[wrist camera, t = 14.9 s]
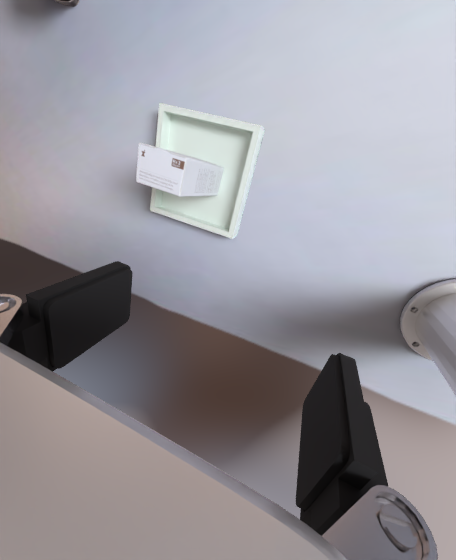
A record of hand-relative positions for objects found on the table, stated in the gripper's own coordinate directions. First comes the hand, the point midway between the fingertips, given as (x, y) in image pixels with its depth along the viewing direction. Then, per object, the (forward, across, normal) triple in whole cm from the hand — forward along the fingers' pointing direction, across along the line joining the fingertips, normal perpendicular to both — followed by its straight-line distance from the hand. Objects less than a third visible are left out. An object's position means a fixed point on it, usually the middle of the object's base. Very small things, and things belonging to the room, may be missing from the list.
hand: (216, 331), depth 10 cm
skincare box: (+28, +15, -4) cm, 32 cm away
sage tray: (+28, +15, -4) cm, 32 cm away
